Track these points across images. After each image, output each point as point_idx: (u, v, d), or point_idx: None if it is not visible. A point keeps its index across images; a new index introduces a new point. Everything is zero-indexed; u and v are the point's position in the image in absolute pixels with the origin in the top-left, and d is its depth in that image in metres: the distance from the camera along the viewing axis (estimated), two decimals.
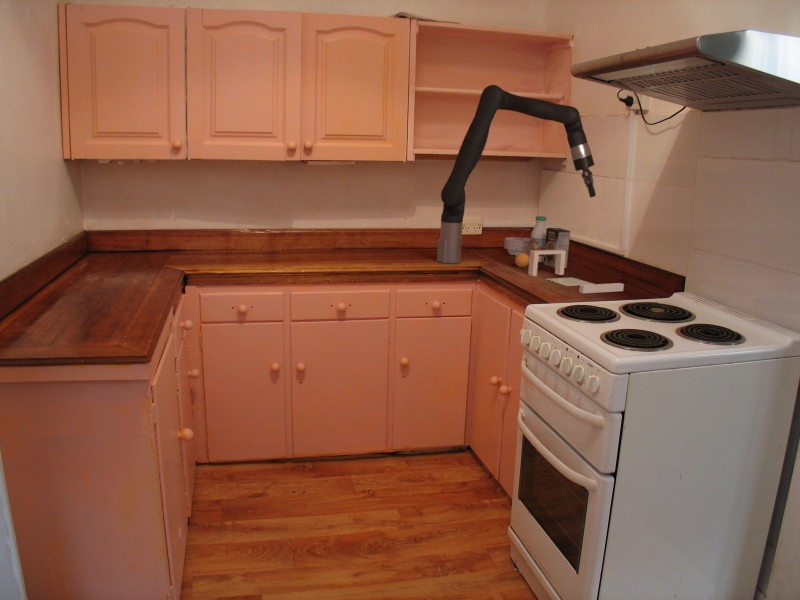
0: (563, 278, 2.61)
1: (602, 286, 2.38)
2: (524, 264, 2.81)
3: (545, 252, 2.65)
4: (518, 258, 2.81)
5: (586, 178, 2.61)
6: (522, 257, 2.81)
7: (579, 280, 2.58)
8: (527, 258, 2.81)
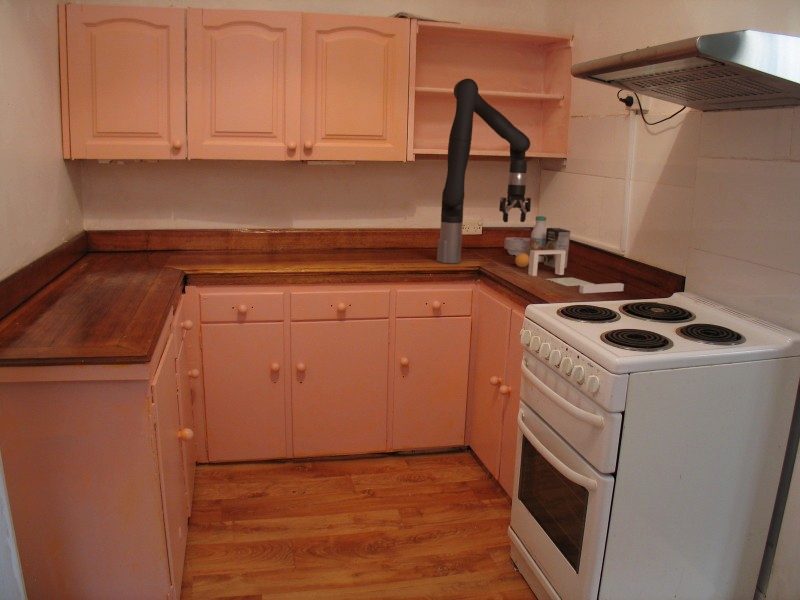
0: (563, 278, 2.61)
1: (602, 286, 2.38)
2: (524, 264, 2.81)
3: (545, 252, 2.65)
4: (518, 258, 2.81)
5: (501, 203, 2.84)
6: (522, 257, 2.81)
7: (579, 280, 2.58)
8: (527, 258, 2.81)
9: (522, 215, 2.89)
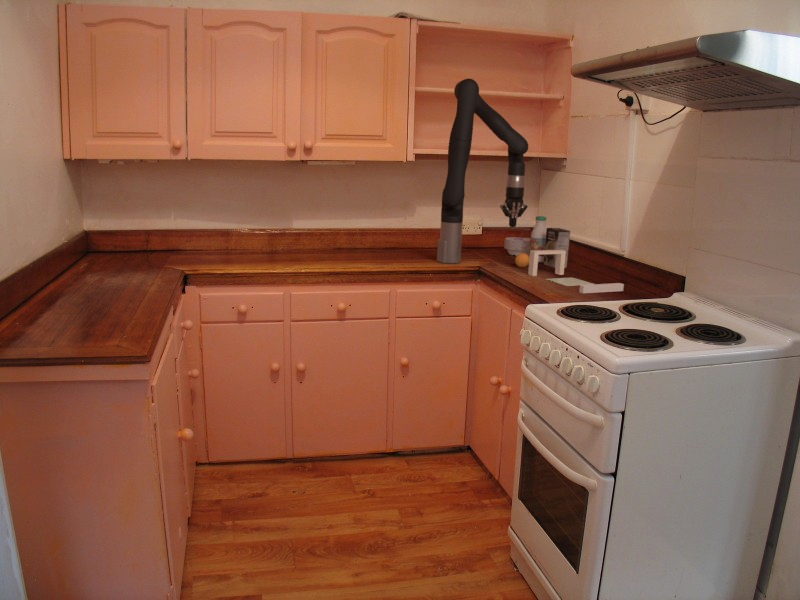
0: (563, 278, 2.61)
1: (602, 286, 2.38)
2: (524, 264, 2.81)
3: (545, 252, 2.65)
4: (518, 258, 2.81)
5: (503, 211, 2.86)
6: (522, 257, 2.81)
7: (579, 280, 2.58)
8: (527, 258, 2.81)
9: None
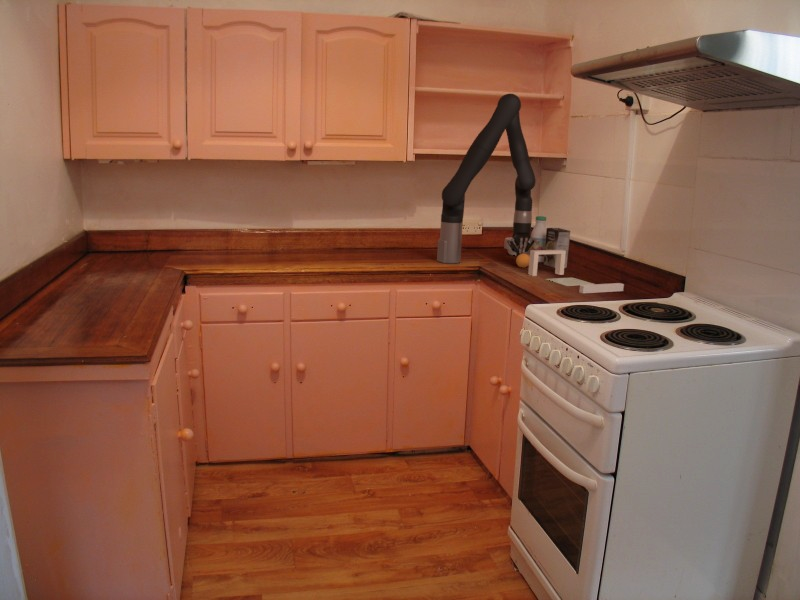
0: (563, 278, 2.61)
1: (602, 286, 2.38)
2: (525, 265, 2.81)
3: (545, 252, 2.65)
4: (519, 258, 2.81)
5: (511, 246, 2.84)
6: (523, 258, 2.80)
7: (579, 280, 2.58)
8: (528, 259, 2.81)
9: None
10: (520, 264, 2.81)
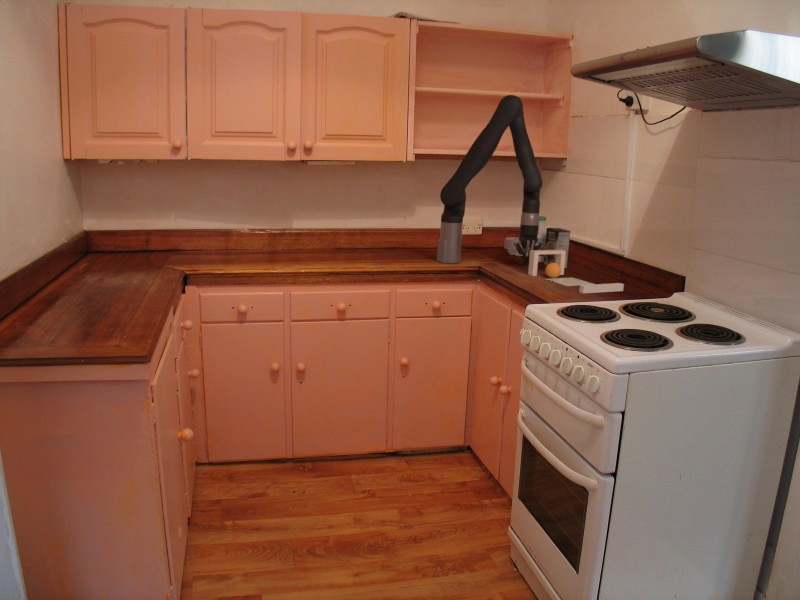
0: (563, 278, 2.61)
1: (602, 286, 2.38)
2: (551, 277, 2.62)
3: (545, 252, 2.65)
4: (549, 272, 2.60)
5: (517, 249, 2.78)
6: (553, 275, 2.59)
7: (579, 280, 2.58)
8: (557, 276, 2.61)
9: None
10: (547, 275, 2.62)
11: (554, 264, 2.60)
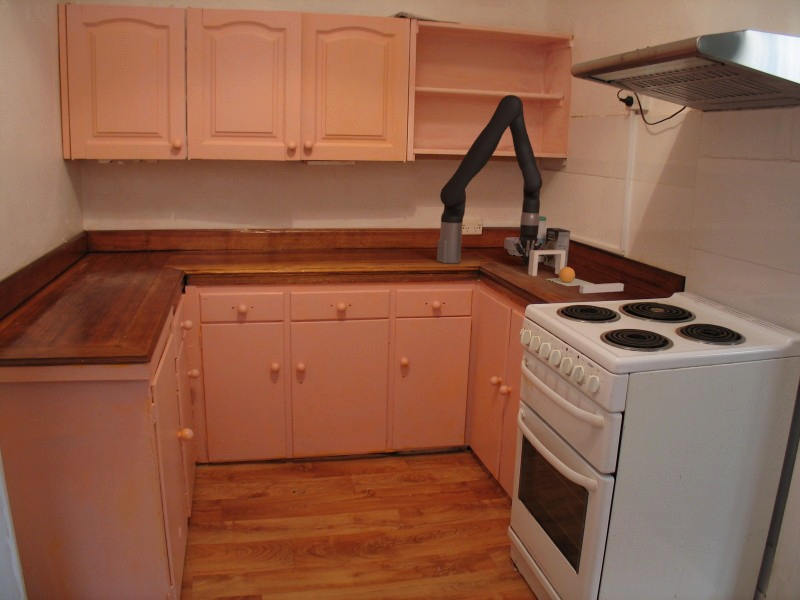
0: None
1: (602, 286, 2.38)
2: (566, 267, 2.52)
3: (545, 252, 2.65)
4: (559, 272, 2.53)
5: (517, 249, 2.78)
6: None
7: (579, 280, 2.58)
8: None
9: None
10: (563, 270, 2.51)
11: None
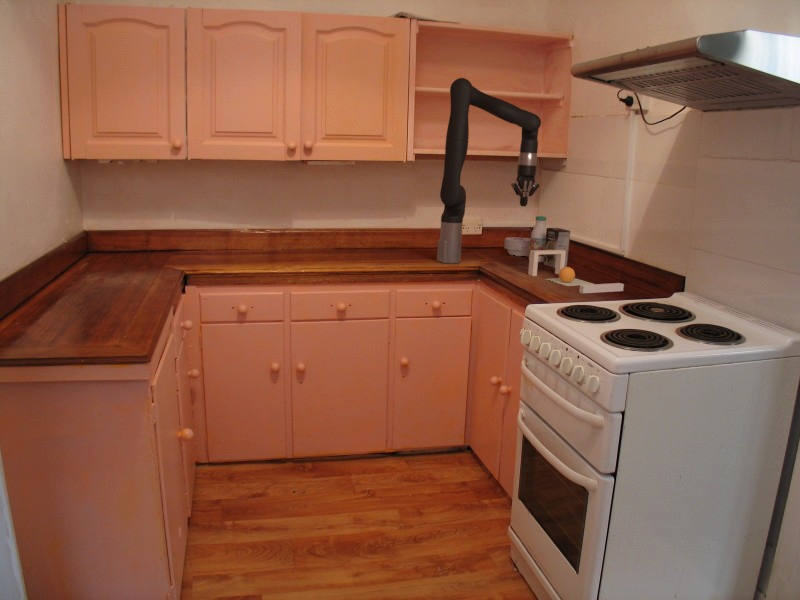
0: None
1: (602, 286, 2.38)
2: (566, 267, 2.52)
3: (545, 252, 2.65)
4: (559, 272, 2.53)
5: (514, 189, 2.79)
6: None
7: (579, 280, 2.58)
8: None
9: None
10: (563, 270, 2.51)
11: None
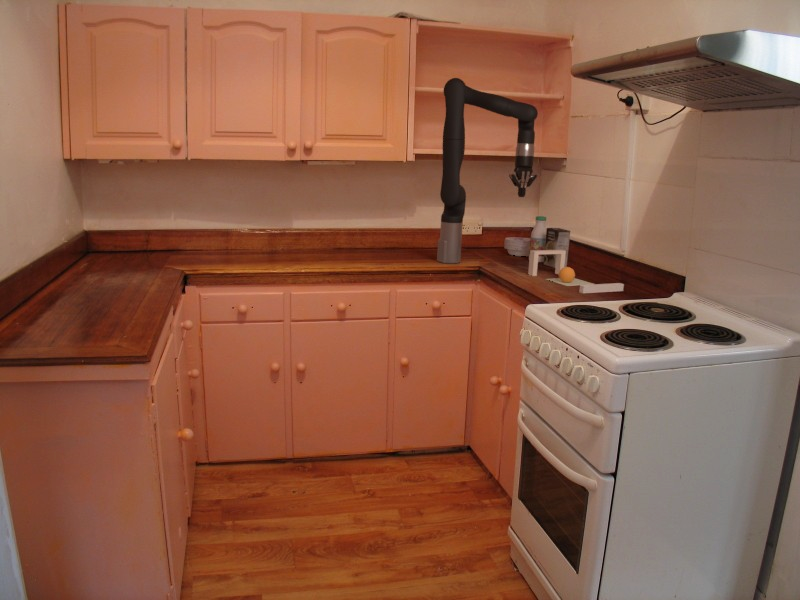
0: None
1: (602, 286, 2.38)
2: (566, 267, 2.52)
3: (545, 252, 2.65)
4: (559, 272, 2.53)
5: (512, 180, 2.81)
6: None
7: (579, 280, 2.58)
8: None
9: None
10: (563, 270, 2.51)
11: None
